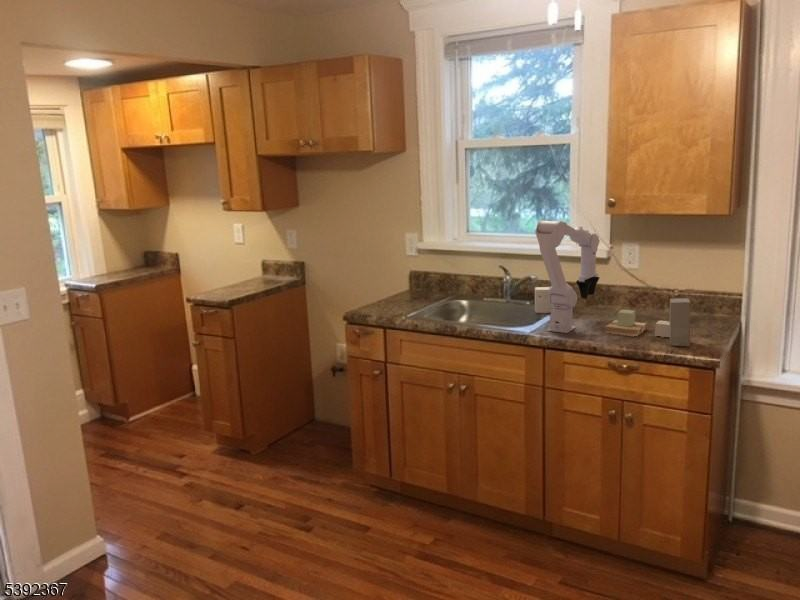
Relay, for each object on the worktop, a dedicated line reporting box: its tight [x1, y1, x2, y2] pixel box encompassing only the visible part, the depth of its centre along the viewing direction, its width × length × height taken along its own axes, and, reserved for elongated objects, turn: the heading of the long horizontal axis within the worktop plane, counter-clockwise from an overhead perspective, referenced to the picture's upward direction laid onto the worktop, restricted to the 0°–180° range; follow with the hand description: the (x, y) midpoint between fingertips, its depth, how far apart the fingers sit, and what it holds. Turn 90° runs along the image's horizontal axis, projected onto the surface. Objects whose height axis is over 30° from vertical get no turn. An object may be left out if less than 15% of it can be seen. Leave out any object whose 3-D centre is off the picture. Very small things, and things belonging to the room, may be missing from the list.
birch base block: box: [604, 319, 647, 337], centre depth 247 cm, size 12×12×3 cm
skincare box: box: [668, 297, 691, 348], centre depth 227 cm, size 8×7×16 cm
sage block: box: [617, 309, 636, 326], centre depth 246 cm, size 5×5×5 cm
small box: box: [534, 286, 553, 314], centre depth 282 cm, size 8×6×10 cm
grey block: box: [654, 320, 670, 338], centre depth 239 cm, size 5×5×5 cm
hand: (587, 296), depth 262 cm, fingers open, 7 cm apart
